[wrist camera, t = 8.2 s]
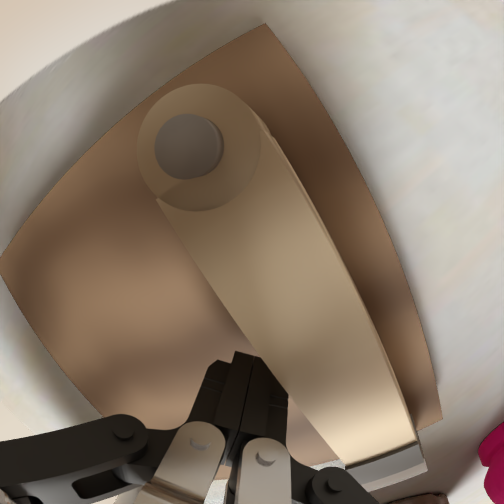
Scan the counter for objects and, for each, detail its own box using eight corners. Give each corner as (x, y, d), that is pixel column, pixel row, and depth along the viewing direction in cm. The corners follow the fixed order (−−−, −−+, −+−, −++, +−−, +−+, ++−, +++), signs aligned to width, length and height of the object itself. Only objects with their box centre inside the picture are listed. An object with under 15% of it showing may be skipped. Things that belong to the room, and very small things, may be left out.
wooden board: (433, 396, 14) (457, 459, 9) (184, 463, 20) (165, 510, 15) (270, 41, 10) (252, -22, 5) (15, 254, 16) (-39, 283, 11)
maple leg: (170, 138, 10) (102, 135, 6) (244, 89, 9) (210, 50, 5) (353, 429, 13) (359, 492, 9) (408, 407, 12) (426, 469, 8)
